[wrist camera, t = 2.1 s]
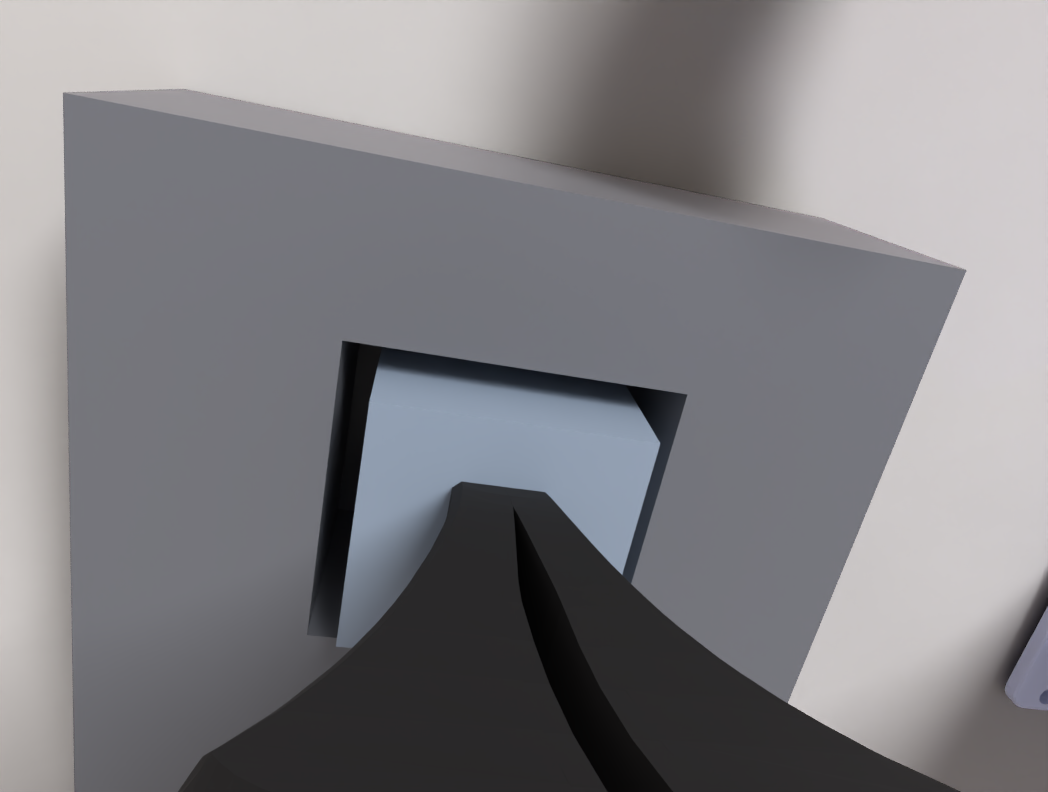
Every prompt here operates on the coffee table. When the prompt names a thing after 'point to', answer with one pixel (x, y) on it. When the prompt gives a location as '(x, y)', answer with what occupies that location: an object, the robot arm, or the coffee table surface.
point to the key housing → (445, 330)
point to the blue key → (485, 463)
